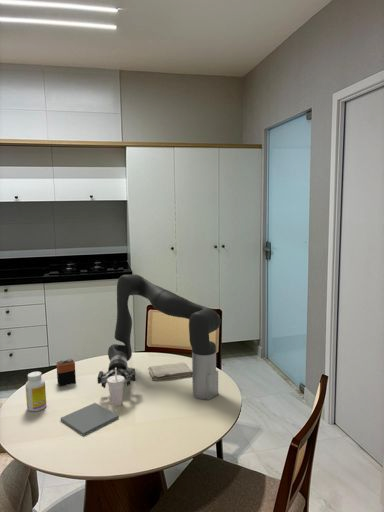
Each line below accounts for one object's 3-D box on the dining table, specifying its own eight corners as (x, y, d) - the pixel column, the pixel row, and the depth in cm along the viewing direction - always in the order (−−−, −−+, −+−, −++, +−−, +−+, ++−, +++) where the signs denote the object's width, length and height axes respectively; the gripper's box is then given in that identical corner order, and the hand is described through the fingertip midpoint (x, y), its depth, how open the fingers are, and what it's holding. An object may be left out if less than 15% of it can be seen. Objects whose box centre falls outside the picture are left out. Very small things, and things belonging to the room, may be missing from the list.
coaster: (118, 418, 137) (118, 415, 136) (83, 435, 126) (83, 433, 126) (95, 405, 146) (95, 402, 146) (60, 420, 136) (60, 417, 135)
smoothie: (110, 409, 143) (109, 372, 141) (105, 401, 148) (104, 366, 147) (127, 405, 146) (126, 368, 144) (122, 397, 151) (121, 362, 150)
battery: (76, 383, 164) (74, 360, 163) (59, 387, 161) (57, 363, 160) (74, 379, 168) (72, 356, 167) (57, 382, 165) (56, 359, 164)
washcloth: (147, 371, 176) (146, 365, 176) (185, 366, 181) (185, 360, 181) (152, 383, 165) (152, 376, 164) (193, 377, 170) (193, 370, 170)
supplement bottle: (50, 404, 147) (48, 371, 145) (38, 413, 141) (35, 379, 139) (35, 401, 149) (33, 369, 147) (23, 410, 143) (20, 376, 141)
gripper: (99, 359, 160) (95, 376, 144) (135, 357, 162) (135, 373, 146) (100, 377, 161) (96, 395, 145) (135, 374, 163) (135, 392, 147)
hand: (115, 384), depth 146 cm, fingers open, 8 cm apart
